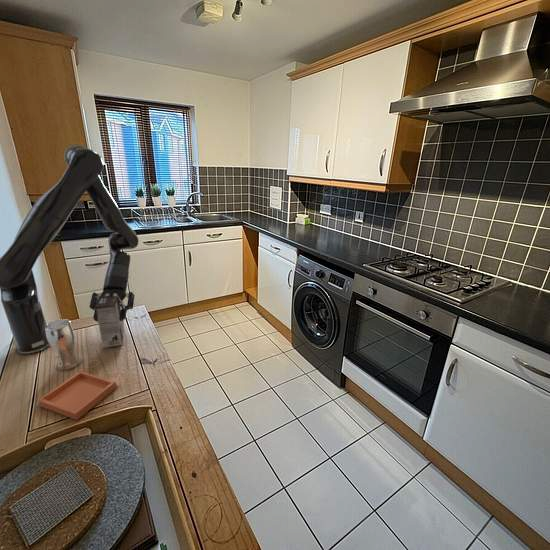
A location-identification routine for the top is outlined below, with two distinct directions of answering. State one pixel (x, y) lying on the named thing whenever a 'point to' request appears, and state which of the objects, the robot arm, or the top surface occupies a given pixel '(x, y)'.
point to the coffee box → (110, 321)
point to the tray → (77, 395)
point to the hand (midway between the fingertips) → (109, 320)
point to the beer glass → (62, 343)
